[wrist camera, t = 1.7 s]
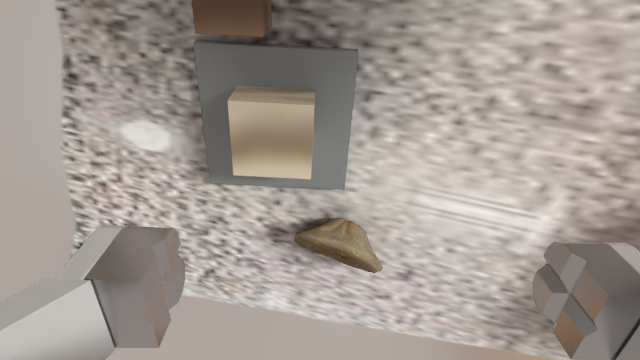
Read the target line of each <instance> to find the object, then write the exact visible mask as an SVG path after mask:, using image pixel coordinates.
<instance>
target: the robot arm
mask: <svg viewBox="0 0 640 360" xmlns="http://www.w3.org/2000/svg"><path fill="white" fill-rule="evenodd" d="M179 246H180V239H179V235H178V231H176V230H175V229H174V228H156V227H139V226H115V225H103V226H101V227H98V228H97V229H96V230H95V231H94V232H93V234H92V235H91V236H90V237H89V238H88V239H87V241H86V242H85V243H84V244H83V245H82V246H81V248H80V249H79V250H78V251H77V252H76V253H75V254H74V256H73V257H72V258H71V259H70V260H69V262H68V263H67V264H66V265H65V266H64V267H63V268H62V270H61V271H60V272H59V273H58V274H57V275H56V276H55V278H54V279H44V280H42V281H40V282H38V283H37V284H34V285H32V286H30V287H29V288H26V289H24V290H22V291H21V292H19V293H17V294H15V295H13V296H11V297H9V298H7V299H5V300H3V301H1V302H0V360H105V359H106V358H107V357H108V356H109V355H110V354H112V353H113V352H114V351H115V348H158V347H159V346H160V344H161V341H162V339H163V337H164V335H165V332H166V330H167V328H168V325H169V323H170V320H171V319H170V314H169V309H170V308H172V307H173V306H174V305H176V304H177V303H178V302H179V299H180V297H181V294H182V292H183V287H184V281H185V266H184V260H183V259H182V258H181V257H180V256H179V255H178V254H177V253H176V252H177V250H178V248H179ZM544 258H545V260H546V262H547V264H546V265H545V266H543V267H542V268H541V269H539V270H538V271H537V272H536V275H535V277H534V280H533V297H534V300H535V303H536V305H537V307H538V308H539V310H540V312H541V313H542V314H543V315H544V316H546V317H547V318H548V319H550V320H551V321H553V322H554V328H553V332H554V334H555V335H556V337H557V338H558V340H559V341H560V343H561V345H562V346H563V348H564V349H565V351H566V352H567V354H568V355H569V357H570V359H571V360H640V252H639V251H638V250H637V249H636V248H635V247H634V246H631V245H629V244H627V243H610V242H601V243H579V242H553V243H552V244H551V245H550V246H548V248H547V250H546V252H545V254H544Z"/></svg>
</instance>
